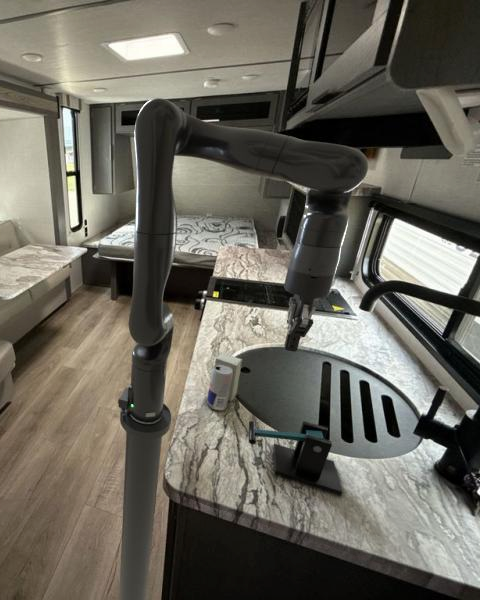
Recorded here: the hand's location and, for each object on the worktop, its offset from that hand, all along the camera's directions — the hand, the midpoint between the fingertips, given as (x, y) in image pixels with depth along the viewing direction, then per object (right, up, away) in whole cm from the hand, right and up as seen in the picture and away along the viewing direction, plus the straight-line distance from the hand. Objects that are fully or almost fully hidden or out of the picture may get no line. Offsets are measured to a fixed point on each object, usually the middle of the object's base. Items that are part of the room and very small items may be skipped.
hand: (290, 349), depth 63 cm
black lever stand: (+6, -27, +4) cm, 28 cm away
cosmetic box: (-4, -18, +28) cm, 34 cm away
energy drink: (-7, -20, +24) cm, 32 cm away
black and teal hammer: (+1, -21, +4) cm, 21 cm away
